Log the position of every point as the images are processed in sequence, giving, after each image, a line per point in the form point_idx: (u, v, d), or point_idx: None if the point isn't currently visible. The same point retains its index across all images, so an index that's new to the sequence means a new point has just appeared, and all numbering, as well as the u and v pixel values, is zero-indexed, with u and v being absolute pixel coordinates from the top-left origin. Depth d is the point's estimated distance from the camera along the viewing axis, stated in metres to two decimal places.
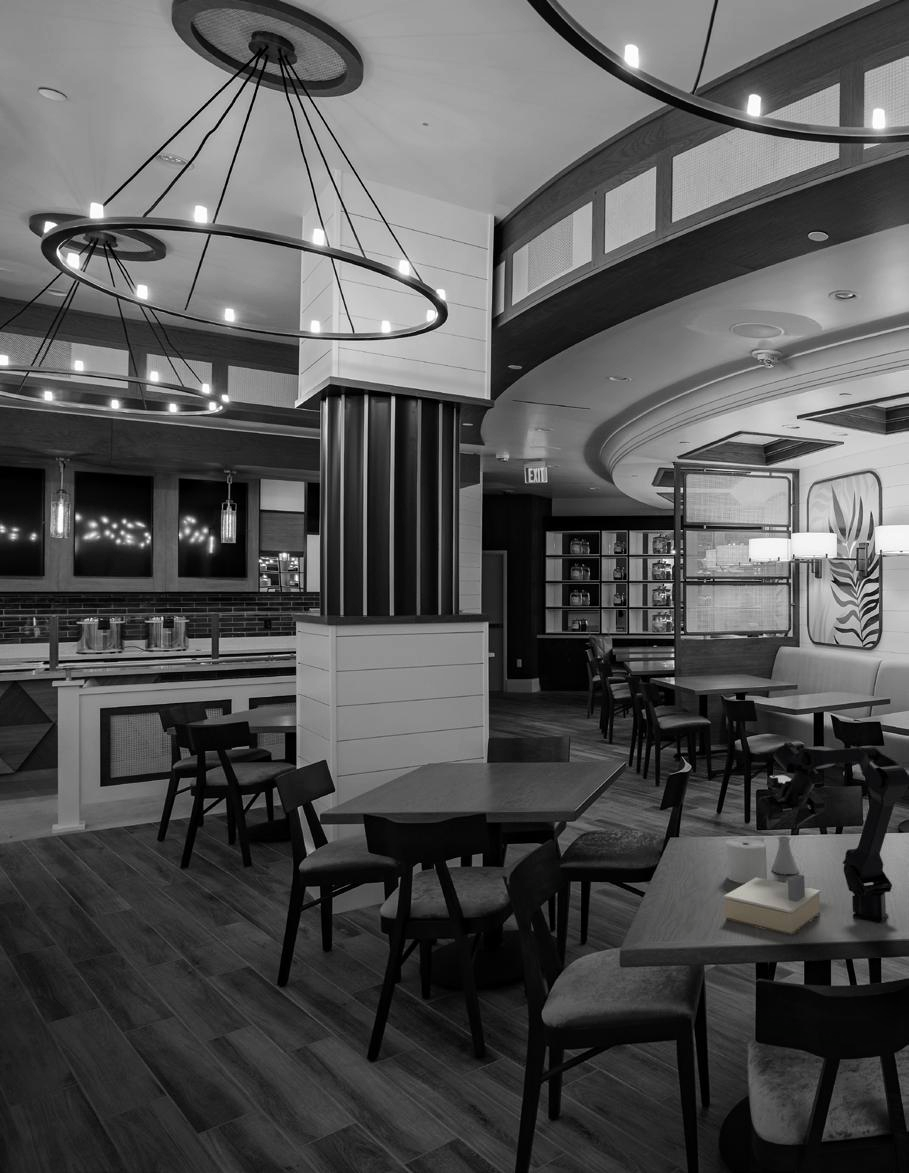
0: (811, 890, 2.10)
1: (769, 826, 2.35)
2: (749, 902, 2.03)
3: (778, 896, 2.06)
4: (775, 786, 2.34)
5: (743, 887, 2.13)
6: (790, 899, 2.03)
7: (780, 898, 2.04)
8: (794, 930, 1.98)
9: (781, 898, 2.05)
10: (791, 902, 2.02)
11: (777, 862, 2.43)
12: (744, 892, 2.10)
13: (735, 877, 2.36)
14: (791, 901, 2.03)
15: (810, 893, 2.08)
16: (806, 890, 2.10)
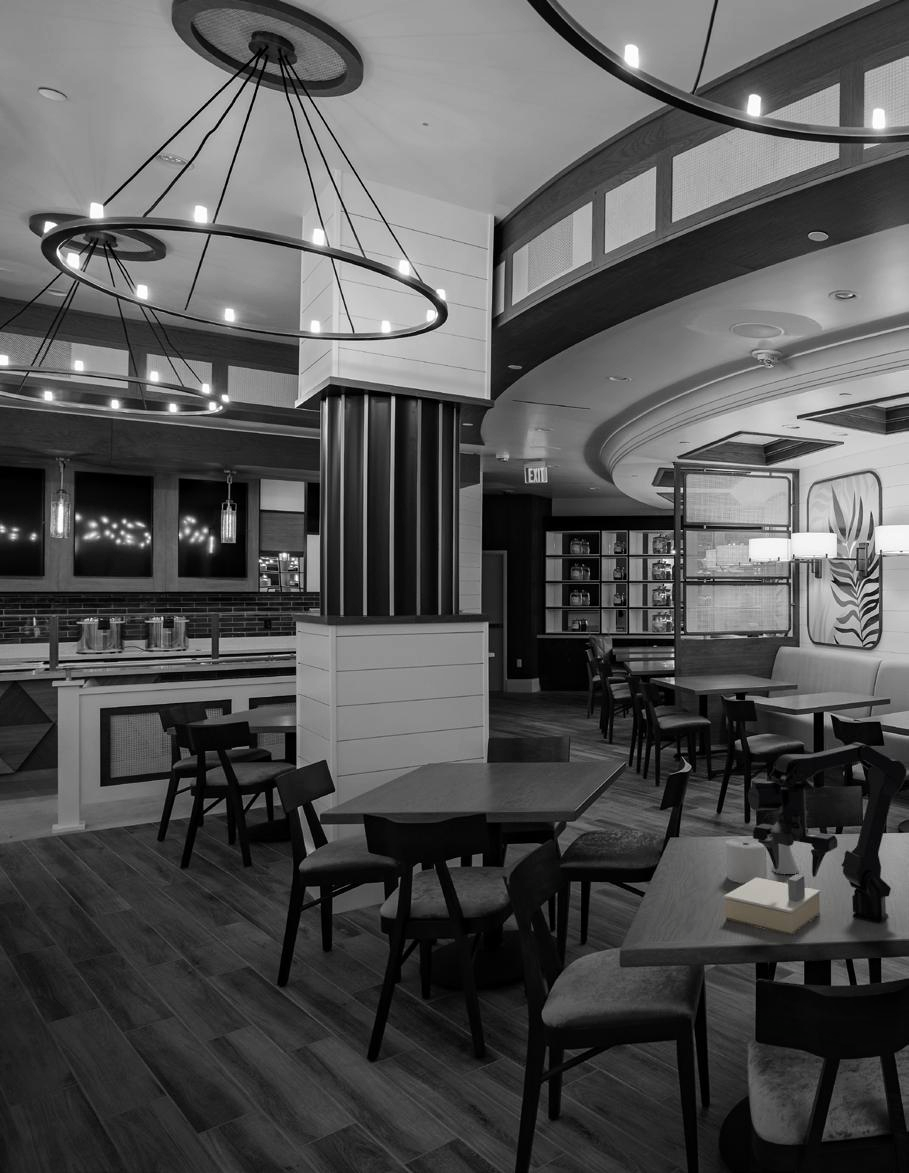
0: (811, 890, 2.10)
1: (817, 870, 2.02)
2: (749, 902, 2.03)
3: (778, 896, 2.06)
4: None
5: (743, 887, 2.13)
6: (790, 899, 2.03)
7: (780, 898, 2.04)
8: (794, 930, 1.98)
9: (781, 898, 2.05)
10: (791, 902, 2.02)
11: None
12: (744, 892, 2.10)
13: (735, 877, 2.36)
14: (791, 901, 2.03)
15: (810, 893, 2.08)
16: (806, 890, 2.10)
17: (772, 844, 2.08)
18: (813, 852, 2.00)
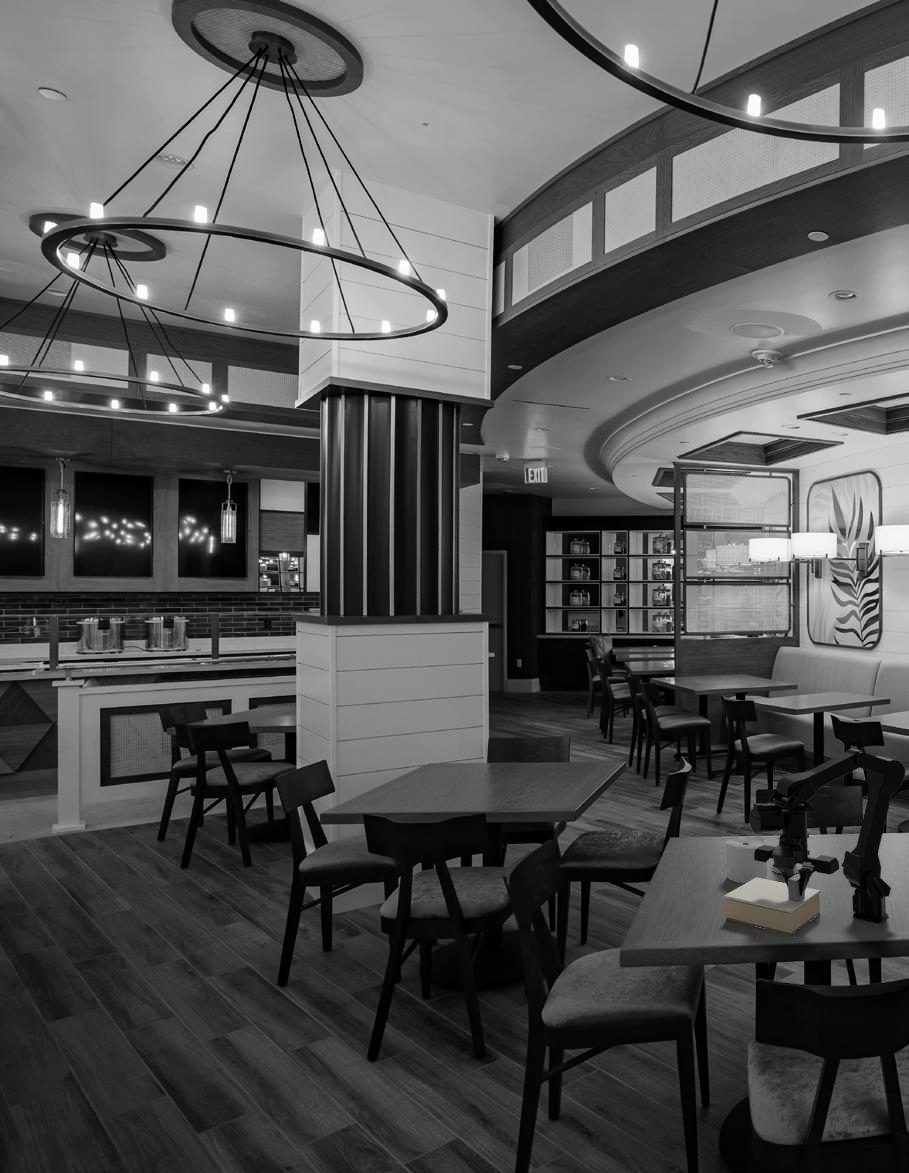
0: (811, 890, 2.10)
1: (804, 890, 2.04)
2: (749, 902, 2.03)
3: (778, 896, 2.06)
4: None
5: (743, 887, 2.13)
6: (790, 899, 2.03)
7: (780, 898, 2.04)
8: (794, 930, 1.98)
9: (781, 898, 2.05)
10: (791, 902, 2.02)
11: None
12: (744, 892, 2.10)
13: (735, 877, 2.36)
14: (791, 901, 2.03)
15: (810, 893, 2.08)
16: (806, 890, 2.10)
17: (787, 869, 2.06)
18: (800, 872, 2.02)
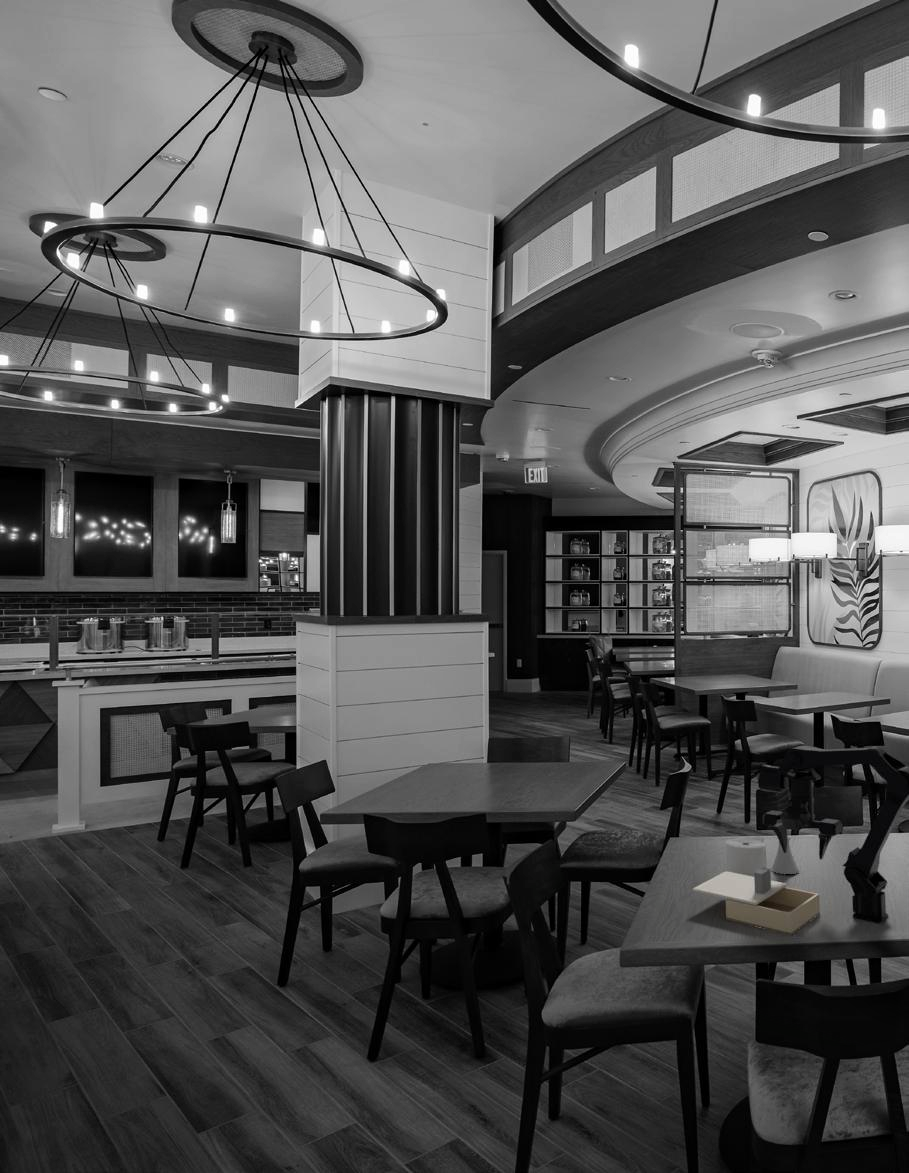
0: (778, 883, 2.16)
1: (824, 853, 2.16)
2: (716, 895, 2.09)
3: (745, 889, 2.12)
4: None
5: (712, 880, 2.19)
6: (756, 892, 2.09)
7: (746, 891, 2.10)
8: (794, 930, 1.98)
9: (748, 891, 2.10)
10: (756, 895, 2.07)
11: (777, 862, 2.43)
12: (712, 885, 2.16)
13: None
14: (757, 894, 2.08)
15: (776, 886, 2.13)
16: (773, 883, 2.16)
17: (781, 829, 2.22)
18: (820, 836, 2.13)
